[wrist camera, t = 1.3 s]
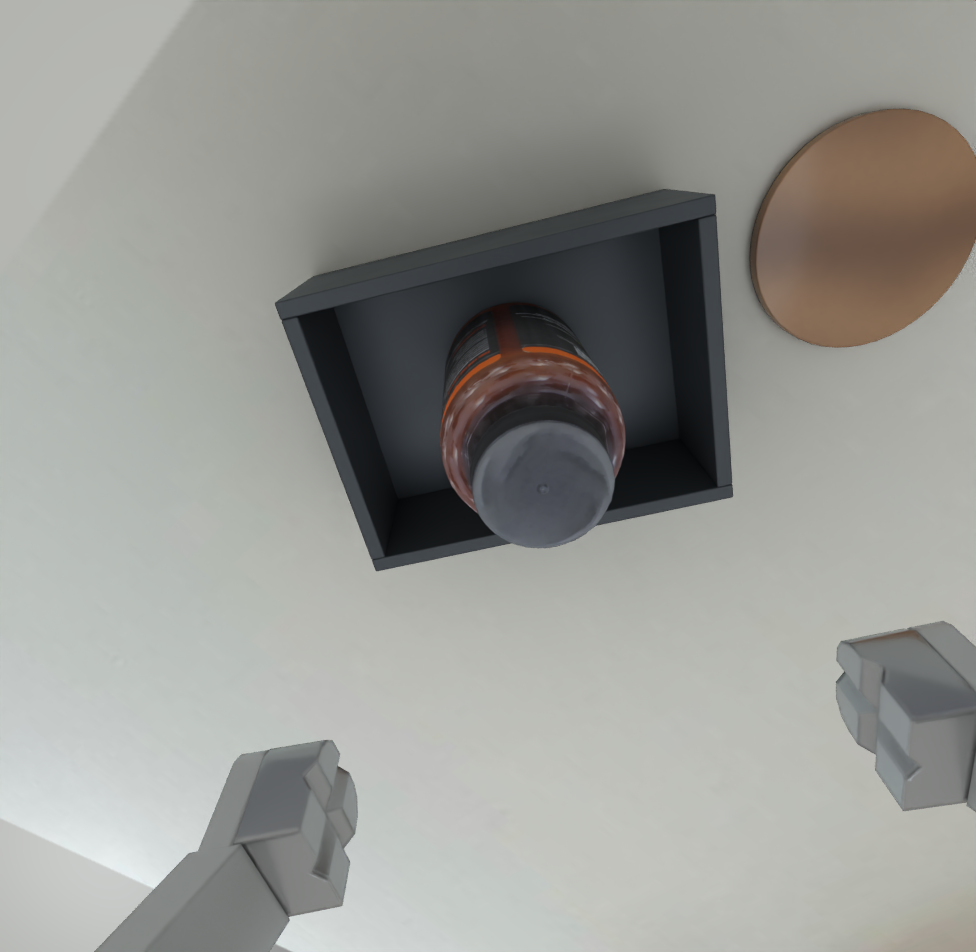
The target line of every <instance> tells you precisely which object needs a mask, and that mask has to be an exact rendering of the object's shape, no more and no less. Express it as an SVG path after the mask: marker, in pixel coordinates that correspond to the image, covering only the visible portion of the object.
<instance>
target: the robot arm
mask: <svg viewBox="0 0 976 952" xmlns="http://www.w3.org/2000/svg"><path fill="white" fill-rule="evenodd" d="M836 661H837V662H838V663H839V665H840V666H841V667H842V669H843V670H844V673H843V674H842V675H841V676H840V678H839V679H838V680H837V681H836V699H837V703H838V706H839V710H840V713H841V716H842V718H843V720H844V722H845V725H846V727H847V729H848V730H849V732H850V734H851V735H852V737H853V738H854V740H855V741H856V743H857V744H858V745H860V746H861V747H863V748H865V749H867V750H868V751H870V752H872V753H874V754H876V765H875V771H876V772H877V774H878V775H879V777H880V778H881V779H882V781H883V782H884V784H885V785H886V787H887V788H888V790H889V791H890V793H891V794H892V795H893V797H894V798H895V800H896V801H897V803H898V804H899V806H900V807H901V809H902V810H903V811H909V810H916V809H923V808H930V807H937V806H945V805H952V804H959V803H966V802H967V806H968V807H969V808H971V809H972V810H974V811H975V812H976V646H974V645H973V644H972V643H971V642H970V641H969V640H968V639H967V638H966V637H965V636H964V635H963V634H961V633H960V632H959V631H958V630H957V629H956V628H955V627H954V626H953V625H951V624H949V623H947V622H944V621H940V622H935V623H930V624H925V625H920V626H915V627H910V628H908V629H899V630H894V631H889V632H884V633H879V634H874V635H869V636H864V637H860V638H855V639H850V640H845V641H841V642H840V643H839V645H838V647H837V659H836ZM339 757H340V753H339V751H338V749H337V747H336V746H335V744H334V742H333V740H323V741H317V742H311V743H305V744H298V745H292V746H286V747H280V748H274V749H270V750H265V751H259V752H253V753H247V754H241V755H240V756H239V757H238V759H237V760H236V761H235V762H234V763H233V765H232V768H231V770H230V773H229V775H228V778H227V780H226V783H225V785H224V788H223V790H222V793H221V795H220V798H219V800H218V803H217V805H216V807H215V810H214V812H213V815H212V817H211V820H210V822H209V825H208V827H207V830H206V832H205V835H204V837H203V840H202V842H201V845H200V847H199V850H198V851H197V852H192V853H189V854H188V855H187V856H186V857H185V858H184V859H183V860H182V861H181V862H180V863H179V864H178V865H177V866H176V867H175V868H174V869H173V870H172V871H171V872H170V873H169V874H168V875H167V876H166V877H165V879H164V880H163V881H162V882H161V883H160V884H159V885H158V886H157V887H156V888H155V889H154V890H153V891H152V892H151V893H150V894H149V895H148V896H147V897H146V898H145V899H144V900H143V901H142V903H141V904H140V905H139V906H138V907H137V908H136V909H135V910H134V911H133V912H132V913H131V914H130V915H129V916H128V917H127V919H125V920H124V921H123V922H122V923H121V925H119V926H118V928H117V929H116V930H115V931H114V932H113V933H112V934H111V935H110V936H109V937H108V938H107V939H106V940H105V941H104V942H103V943H102V944H101V945H100V946H99V948H97V949H96V950H95V951H94V952H270V950H271V949H272V947H273V946H274V944H275V943H276V941H277V939H278V938H279V936H280V935H281V933H282V932H283V930H284V928H285V927H286V925H287V924H288V922H289V921H290V920H289V917H290V916H295V915H300V914H305V913H310V912H315V911H320V910H325V909H330V908H335V907H340V906H342V905H343V899H344V894H345V888H346V883H347V877H348V871H349V866H350V860H349V859H348V857H347V855H346V853H345V851H344V848H345V846H346V845H347V844H348V842H349V841H350V840H351V838H352V837H353V836H354V834H355V831H356V824H357V818H358V808H357V794H356V790H355V785H354V782H353V780H352V778H351V776H350V773H349V772H347V771H346V770H344V769H342V768H340V767H338V762H339Z"/></svg>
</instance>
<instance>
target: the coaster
mask: <svg viewBox="0 0 976 952" xmlns="http://www.w3.org/2000/svg"><path fill="white" fill-rule="evenodd" d="M975 240H976V157H975V155H974V152H973V151H972V149H971V147H970V146H969V144H968V142H967V141H966V140H965V139H964V137H963V136H962V135H961V134H960V133H959V132H958V131H957V130H956V129H955V128H954V127H952V126H951V125H950V124H948V123H947V122H946V121H944V120H942V119H940V118H938V117H936V116H934V115H932V114H929V113H925V112H922V111H919V110H911V109H886V110H879V111H874V112H868V113H864V114H861V115H857V116H854V117H851V118H849V119H846V120H844V121H842V122H840V123H838V124H836V125H834V126H832V127H830V128H829V129H827V130H826V131H824V132H822V133H821V134H819V135H818V136H817V137H815V138H814V139H813V140H811V141H810V142H809V143H808V144H806V145H805V146H804V147H803V148H802V149H801V150H800V151H799V152H798V153H797V154H796V155H795V156H794V157H793V158H792V159H791V160H790V161H789V163H788V164H787V165H786V166H785V167H784V169H783V170H782V171H781V172H780V174H779V175H778V177H777V178H776V180H775V181H774V183H773V184H772V186H771V188H770V189H769V191H768V193H767V195H766V197H765V199H764V201H763V203H762V206H761V208H760V211H759V213H758V216H757V219H756V223H755V226H754V230H753V235H752V242H751V250H750V266H751V275H752V280H753V284H754V288H755V291H756V294H757V296H758V299H759V301H760V303H761V305H762V306H763V308H764V310H765V311H766V313H767V314H768V315H769V316H770V318H771V319H772V320H773V321H774V322H775V323H776V324H777V325H778V326H780V327H781V328H782V329H783V330H785V331H786V332H788V333H790V334H791V335H793V336H795V337H797V338H798V339H801V340H803V341H806V342H808V343H811V344H815V345H819V346H825V347H852V346H858V345H863V344H867V343H870V342H874V341H877V340H880V339H882V338H885V337H887V336H890V335H892V334H894V333H895V332H897V331H899V330H901V329H903V328H905V327H906V326H908V325H909V324H911V323H912V322H914V321H915V320H917V319H918V318H919V317H920V316H922V315H923V314H924V313H925V312H926V311H928V310H929V309H930V308H931V307H932V306H933V305H934V304H935V303H936V302H937V301H938V300H939V299H940V298H941V297H942V296H943V294H944V293H945V292H946V291H947V290H948V288H949V287H950V286H951V285H952V283H953V282H954V280H955V279H956V278H957V276H958V275H959V273H960V272H961V270H962V268H963V266H964V264H965V263H966V261H967V259H968V257H969V255H970V253H971V250H972V248H973V245H974V243H975Z"/></svg>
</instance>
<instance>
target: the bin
mask: <svg viewBox="0 0 976 952" xmlns="http://www.w3.org/2000/svg"><path fill="white" fill-rule="evenodd" d="M714 214H716V201H715V195H714V194H705V193H696V192H688V191H679V190H670V189H669V190H668V189H663V190H659V191H655V192H651V193H646V194H642V195H638V196H634V197H630V198H626V199H622V200H618V201H614V202H610V203H606V204H602V205H598V206H594V207H590V208H586V209H582V210H578V211H574V212H570V213H566V214H562V215H558V216H554V217H550V218H546V219H542V220H538V221H534V222H530V223H526V224H522V225H518V226H514V227H510V228H506V229H502V230H498V231H494V232H490V233H486V234H482V235H478V236H474V237H470V238H466V239H462V240H458V241H454V242H450V243H446V244H442V245H438V246H433V247H429V248H425V249H421V250H417V251H413V252H409V253H405V254H401V255H397V256H393V257H389V258H385V259H381V260H377V261H373V262H369V263H365V264H361V265H357V266H353V267H349V268H345V269H341V270H337V271H333V272H329V273H325V274H321V275H317V276H313V277H312V278H310V279H309V280H307V281H306V282H304V283H303V284H302V285H300V286H299V287H297V288H296V289H294V290H293V291H291V292H290V293H289V294H287V295H286V296H284V297H283V298H281V299H280V300H278V301H277V302H276V303H275V306H276V308H277V311H278V314H279V316H280V319H281V320H282V324H283V326H284V329H285V332H286V334H287V337H288V340H289V342H290V345H291V347H292V350H293V353H294V355H295V358H296V361H297V363H298V366H299V369H300V371H301V374H302V377H303V379H304V382H305V385H306V387H307V390H308V392H309V395H310V398H311V400H312V403H313V406H314V408H315V411H316V414H317V416H318V419H319V422H320V424H321V427H322V430H323V432H324V435H325V437H326V440H327V443H328V445H329V448H330V451H331V453H332V456H333V459H334V461H335V464H336V467H337V469H338V472H339V474H340V477H341V480H342V482H343V485H344V488H345V490H346V493H347V496H348V498H349V501H350V504H351V506H352V509H353V512H354V514H355V517H356V519H357V522H358V525H359V527H360V530H361V533H362V535H363V538H364V541H365V543H366V546H367V549H368V551H369V554H370V557H371V559H372V562H373V564H374V567H375V570H376V571H381V570H385V569H390V568H395V567H400V566H405V565H409V564H414V563H419V562H424V561H429V560H433V559H438V558H443V557H448V556H453V555H457V554H462V553H467V552H472V551H477V550H481V549H486V548H491V547H496V546H501V545H505V544H510V543H511V542H508V541H506V540H504V539H502V538H501V537H499V536H498V535H497V534H495V533H494V532H493V531H491V530H490V529H489V528H488V526H487V525H486V524H485V523H484V522H483V520H482V519H481V518H480V516H479V514H478V513H477V512H475V511H474V510H473V509H472V508H471V507H469V506H468V505H467V504H466V503H465V502H464V501H463V500H462V499H461V497H460V496H459V495H458V494H457V493H456V491H455V490H454V488H453V487H452V485H451V484H450V481H449V479H448V477H447V474H446V471H445V468H444V465H443V461H442V455H441V446H440V434H441V433H440V429H441V417H442V403H443V392H444V377H445V365H446V360H447V357H448V353H449V350H450V347H451V345H452V343H453V341H454V339H455V337H456V336H457V334H458V332H459V331H460V330H461V329H462V327H463V326H464V325H465V324H466V323H467V322H468V321H469V320H470V319H471V318H473V317H474V316H475V315H477V314H478V313H480V312H482V311H483V310H485V309H487V308H490V307H493V306H497V305H500V304H505V303H529V304H534V305H537V306H539V307H542V308H545V309H547V310H548V311H550V312H552V313H554V314H555V315H557V316H558V317H559V318H561V319H562V320H563V321H564V322H565V323H566V324H567V325H568V326H569V327H570V329H571V330H572V331H573V332H574V334H575V335H576V337H577V338H578V340H579V341H580V343H581V344H582V346H583V347H584V349H585V350H586V352H587V354H588V355H589V357H590V358H591V359H592V361H593V362H594V364H595V365H596V367H597V369H598V370H599V371H600V373H601V374H602V376H603V378H604V380H605V381H606V383H607V384H608V386H609V387H610V389H611V391H612V393H613V394H614V396H615V398H616V400H617V402H618V404H619V407H620V410H621V413H622V417H623V420H624V425H625V452H624V457H623V459H622V463H621V467H620V468H619V471H618V474H617V476H616V478H615V486H614V492H613V495H612V501H611V503H610V504H609V506H608V508H607V510H606V512H605V513H604V515H603V517H602V518H601V519H600V521H599V522H598V523H597V524H596V526H597V525H601V524H606V523H611V522H616V521H621V520H625V519H630V518H635V517H640V516H645V515H649V514H654V513H659V512H664V511H669V510H673V509H678V508H683V507H688V506H693V505H697V504H702V503H707V502H712V501H717V500H721V499H726V498H731V497H733V488H732V471H731V454H730V438H729V421H728V404H727V388H726V371H725V354H724V338H723V321H722V304H721V288H720V271H719V254H718V238H717V221H716V215H714Z"/></svg>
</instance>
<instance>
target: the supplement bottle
mask: <svg viewBox="0 0 976 952" xmlns="http://www.w3.org/2000/svg"><path fill="white" fill-rule="evenodd" d="M440 433H441V434H440V446H441V455H442V461H443V465H444V468H445V471H446V474H447V477H448V479H449V481H450V484H451V485H452V487H453V488H454V490H455V491H456V493H457V494H458V495H459V496H460V497H461V499H462V500H463V501H464V502H465V503H466V504H467V505H468V506H469V507H471V508H472V509H473V510H474V511H475V512H477V513H478V514H479V516H480V518H481V519H482V520H483V522H484V523H485V524H486V525H487V526H488V528H489V529H490V530H491V531H493V532H494V533H495V534H497V535H498V536H499V537H501V538H502V539H504V540H506V541H508V542H511V543H513V544H516V545H520V546H524V547H530V548H550V547H556V546H560V545H563V544H566V543H568V542H571V541H574V540H576V539H578V538H580V537H581V536H583V535H584V534H586V533H587V532H588V531H589V530H591V529H592V528H594V527H595V526H596V524H597V523H598V522H599V521H600V519H601V518H602V517H603V515H604V513H605V512H606V510H607V508H608V506H609V504H610V503H611V501H612V495H613V492H614V486H615V478H616V476H617V474H618V471H619V468H620V467H621V463H622V459H623V457H624V452H625V425H624V420H623V417H622V413H621V410H620V407H619V404H618V402H617V400H616V398H615V396H614V394H613V393H612V391H611V389H610V387H609V386H608V384H607V383H606V381H605V380H604V378H603V376H602V374H601V373H600V371H599V370H598V369H597V367H596V365H595V364H594V362H593V361H592V359H591V358H590V357H589V355H588V354H587V352H586V350H585V349H584V347H583V346H582V344H581V343H580V341H579V340H578V338H577V337H576V335H575V334H574V332H573V331H572V330H571V329H570V327H569V326H568V325H567V324H566V323H565V322H564V321H563V320H562V319H561V318H559V317H558V316H557V315H555V314H554V313H552V312H550V311H548V310H547V309H545V308H542V307H539V306H537V305H534V304H529V303H505V304H500V305H497V306H493V307H490V308H487V309H485V310H483V311H482V312H480V313H478V314H477V315H475V316H474V317H473V318H471V319H470V320H469V321H468V322H467V323H466V324H465V325H464V326H463V327H462V329H461V330H460V331H459V332H458V334H457V336H456V337H455V339H454V341H453V343H452V345H451V347H450V350H449V353H448V357H447V360H446V365H445V377H444V392H443V403H442V417H441V429H440Z"/></svg>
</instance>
